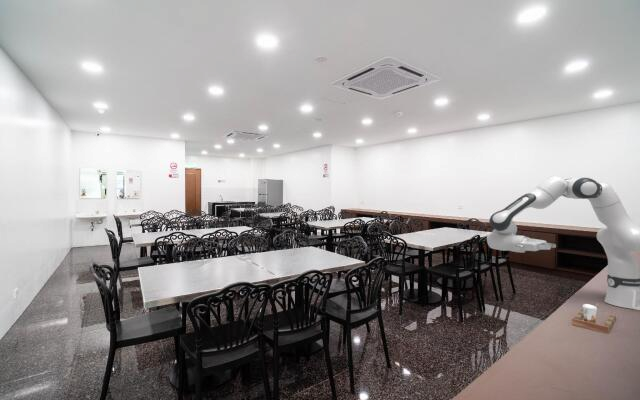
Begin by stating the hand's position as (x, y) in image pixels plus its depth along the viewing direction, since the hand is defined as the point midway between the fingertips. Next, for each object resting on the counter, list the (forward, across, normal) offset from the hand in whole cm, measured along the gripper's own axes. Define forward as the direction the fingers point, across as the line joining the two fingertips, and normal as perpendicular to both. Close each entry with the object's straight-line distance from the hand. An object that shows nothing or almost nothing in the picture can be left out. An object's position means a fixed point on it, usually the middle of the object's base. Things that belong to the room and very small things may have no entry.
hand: (552, 246), depth 149 cm
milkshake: (+16, -15, +30) cm, 37 cm away
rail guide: (+16, -7, +30) cm, 35 cm away
